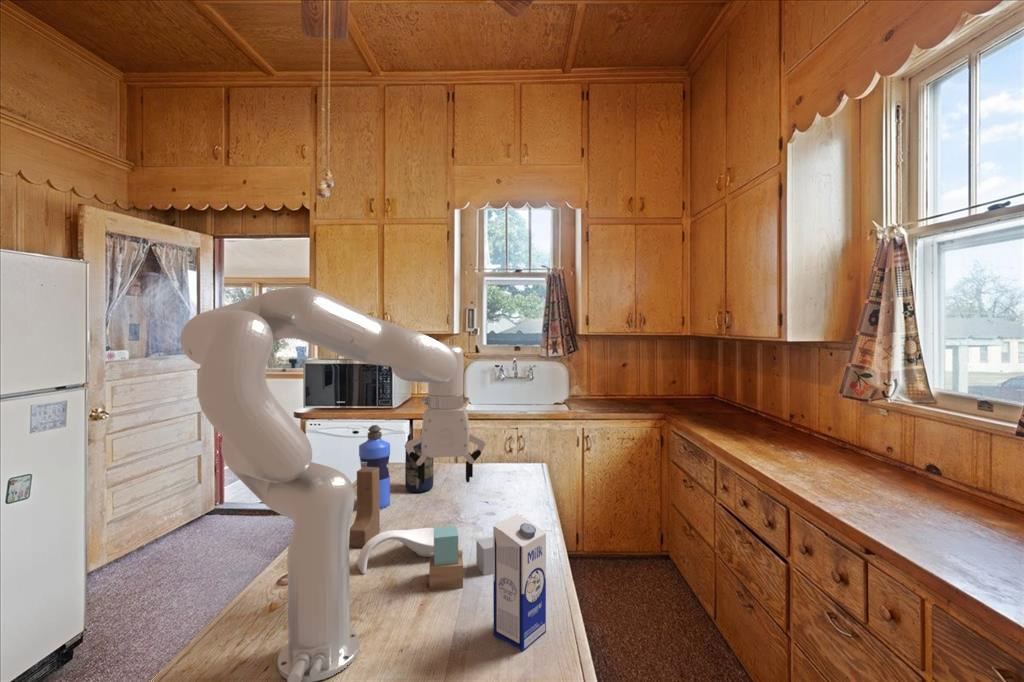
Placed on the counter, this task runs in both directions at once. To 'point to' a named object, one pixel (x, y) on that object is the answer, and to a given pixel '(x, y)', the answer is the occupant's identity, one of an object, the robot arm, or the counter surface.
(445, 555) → the teal block
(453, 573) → the walnut block
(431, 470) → the canister
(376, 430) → the water bottle
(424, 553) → the spoon rest
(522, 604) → the milk carton
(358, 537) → the wooden block
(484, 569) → the grey block
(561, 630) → the counter surface
